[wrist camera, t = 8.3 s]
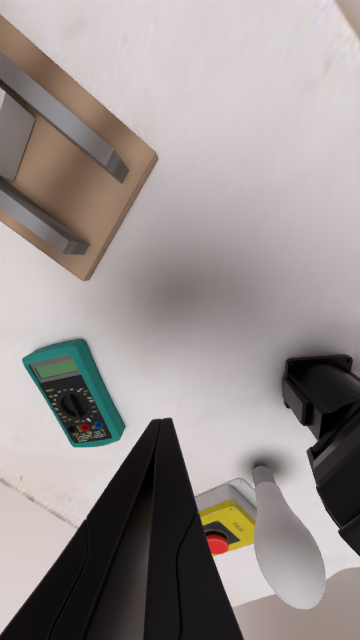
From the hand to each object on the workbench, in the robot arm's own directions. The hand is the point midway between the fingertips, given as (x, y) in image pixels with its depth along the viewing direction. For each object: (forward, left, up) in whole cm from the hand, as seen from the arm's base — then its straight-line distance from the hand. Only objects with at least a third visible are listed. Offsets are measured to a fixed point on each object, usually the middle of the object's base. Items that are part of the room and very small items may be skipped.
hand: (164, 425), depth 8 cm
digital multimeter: (+15, +8, -14) cm, 22 cm away
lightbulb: (-8, +22, -13) cm, 27 cm away
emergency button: (-2, +32, -14) cm, 35 cm away
